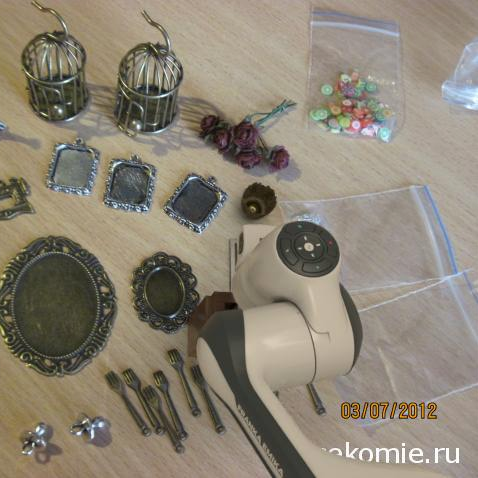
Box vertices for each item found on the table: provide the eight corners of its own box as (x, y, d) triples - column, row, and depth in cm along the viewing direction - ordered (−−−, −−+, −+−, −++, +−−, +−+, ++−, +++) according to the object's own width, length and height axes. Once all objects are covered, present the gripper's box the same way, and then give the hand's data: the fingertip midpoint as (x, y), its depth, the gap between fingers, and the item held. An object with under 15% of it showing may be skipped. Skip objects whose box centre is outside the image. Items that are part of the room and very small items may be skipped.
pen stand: (226, 358, 113) (259, 338, 90) (187, 356, 112) (211, 336, 89) (225, 320, 116) (258, 290, 92) (188, 318, 115) (211, 287, 92)
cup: (271, 205, 126) (282, 190, 118) (260, 232, 123) (270, 219, 116) (241, 192, 126) (250, 176, 119) (229, 218, 124) (238, 204, 116)
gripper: (293, 365, 71) (262, 376, 84) (286, 217, 78) (259, 248, 91) (245, 362, 70) (222, 374, 83) (242, 213, 77) (221, 245, 90)
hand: (241, 307), depth 87 cm, fingers closed
